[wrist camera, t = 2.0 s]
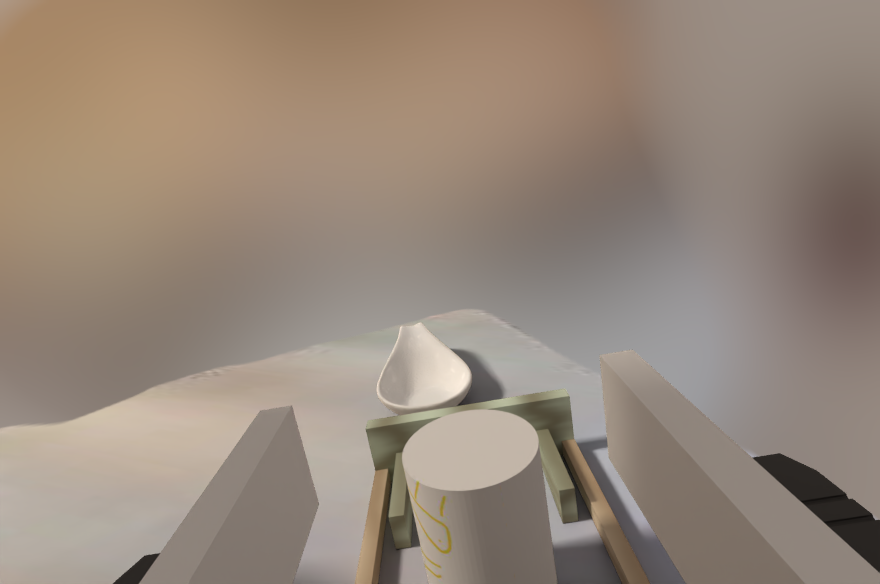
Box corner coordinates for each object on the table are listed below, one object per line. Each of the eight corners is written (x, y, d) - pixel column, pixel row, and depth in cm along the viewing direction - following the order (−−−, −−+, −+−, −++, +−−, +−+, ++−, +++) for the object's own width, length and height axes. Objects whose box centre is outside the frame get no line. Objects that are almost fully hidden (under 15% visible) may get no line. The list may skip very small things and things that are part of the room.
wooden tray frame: (294, 989, 18) (251, 886, 16) (380, 474, 47) (367, 420, 46) (812, 921, 17) (818, 807, 16) (571, 443, 47) (564, 388, 45)
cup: (435, 563, 35) (405, 420, 32) (543, 546, 35) (523, 401, 32) (437, 676, 28) (397, 501, 24) (576, 655, 27) (554, 476, 24)
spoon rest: (486, 419, 54) (477, 361, 52) (384, 443, 53) (371, 385, 51) (449, 348, 77) (442, 306, 75) (378, 364, 76) (368, 322, 74)
